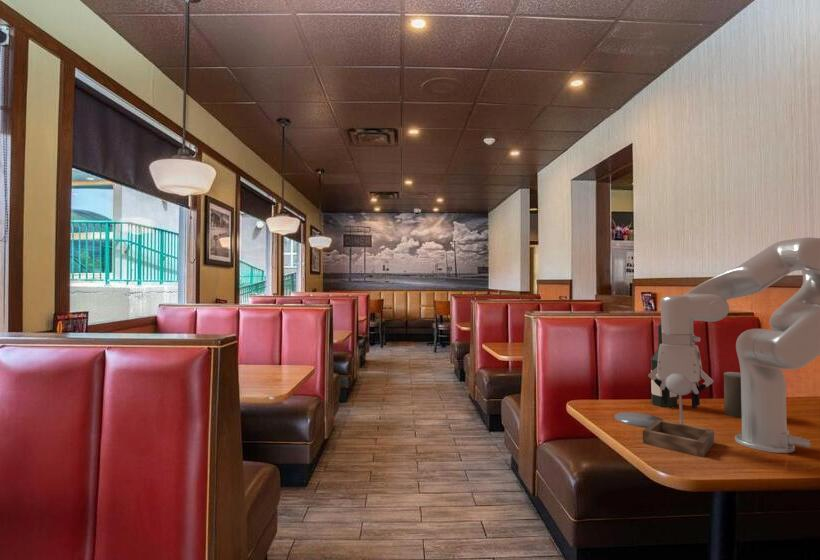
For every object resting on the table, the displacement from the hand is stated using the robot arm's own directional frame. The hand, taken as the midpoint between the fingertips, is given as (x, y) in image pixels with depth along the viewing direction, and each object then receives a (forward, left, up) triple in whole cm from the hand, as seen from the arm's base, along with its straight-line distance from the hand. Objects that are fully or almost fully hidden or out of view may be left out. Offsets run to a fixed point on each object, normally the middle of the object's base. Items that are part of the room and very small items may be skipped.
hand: (680, 404), depth 118 cm
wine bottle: (+14, -40, -11) cm, 43 cm away
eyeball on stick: (0, 0, -5) cm, 5 cm away
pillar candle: (-8, -44, -11) cm, 47 cm away
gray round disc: (+15, -14, -10) cm, 22 cm away
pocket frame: (+1, 0, -10) cm, 11 cm away
